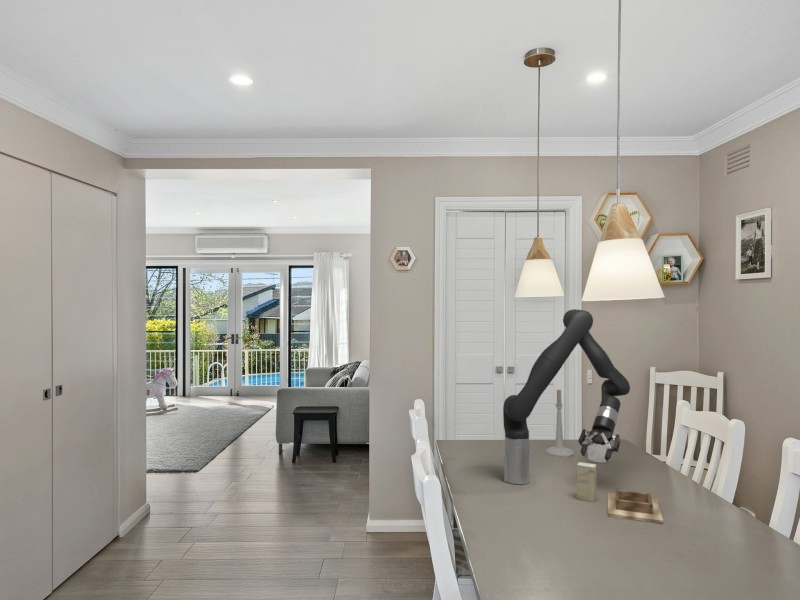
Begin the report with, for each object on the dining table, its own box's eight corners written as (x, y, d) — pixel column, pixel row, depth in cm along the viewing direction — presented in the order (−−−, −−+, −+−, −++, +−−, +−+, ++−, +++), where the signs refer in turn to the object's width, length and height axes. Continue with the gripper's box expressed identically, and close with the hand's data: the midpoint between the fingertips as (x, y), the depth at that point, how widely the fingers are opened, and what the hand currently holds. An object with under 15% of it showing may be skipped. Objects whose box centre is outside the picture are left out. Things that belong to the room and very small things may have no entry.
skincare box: (576, 499, 180) (576, 464, 180) (578, 495, 184) (578, 461, 184) (595, 502, 177) (594, 467, 177) (596, 498, 181) (596, 463, 181)
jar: (583, 458, 229) (583, 432, 230) (596, 456, 233) (595, 430, 234) (599, 464, 222) (599, 436, 222) (612, 461, 225) (612, 434, 226)
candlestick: (577, 456, 233) (576, 391, 234) (549, 456, 233) (549, 391, 234) (568, 449, 246) (568, 387, 246) (542, 449, 246) (541, 387, 247)
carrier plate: (608, 516, 165) (607, 503, 165) (607, 495, 183) (607, 484, 183) (663, 524, 159) (662, 511, 159) (657, 501, 177) (657, 490, 177)
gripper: (584, 412, 198) (572, 448, 189) (622, 417, 189) (611, 455, 180) (589, 424, 202) (578, 459, 193) (627, 429, 192) (616, 466, 184)
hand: (594, 457), depth 186 cm, fingers open, 8 cm apart
